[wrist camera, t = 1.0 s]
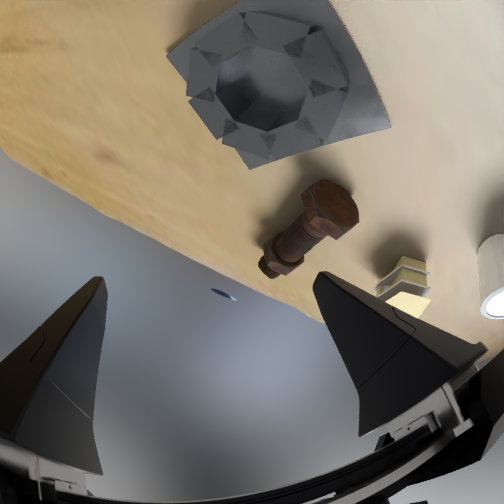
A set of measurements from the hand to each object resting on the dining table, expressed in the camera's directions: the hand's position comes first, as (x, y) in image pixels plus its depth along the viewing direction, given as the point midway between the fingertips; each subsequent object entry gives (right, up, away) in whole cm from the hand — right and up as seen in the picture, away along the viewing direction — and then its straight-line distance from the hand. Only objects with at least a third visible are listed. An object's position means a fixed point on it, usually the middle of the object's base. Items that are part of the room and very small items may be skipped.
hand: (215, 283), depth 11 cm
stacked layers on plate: (+20, -1, +20) cm, 28 cm away
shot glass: (+29, +1, +10) cm, 31 cm away
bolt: (+7, +4, +20) cm, 22 cm away
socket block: (+3, +15, +7) cm, 17 cm away
